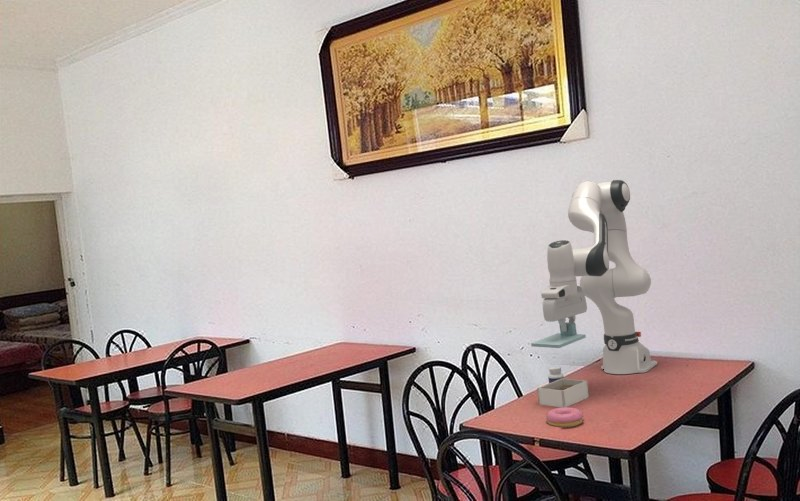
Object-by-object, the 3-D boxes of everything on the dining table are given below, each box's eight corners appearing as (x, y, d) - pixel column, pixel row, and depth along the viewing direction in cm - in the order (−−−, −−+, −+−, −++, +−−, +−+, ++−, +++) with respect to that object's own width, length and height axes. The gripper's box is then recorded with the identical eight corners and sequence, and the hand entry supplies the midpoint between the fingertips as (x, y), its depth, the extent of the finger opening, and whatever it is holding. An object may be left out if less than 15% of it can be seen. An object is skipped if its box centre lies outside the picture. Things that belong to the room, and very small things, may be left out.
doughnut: (561, 431, 205) (559, 417, 205) (539, 423, 215) (537, 410, 215) (591, 423, 209) (590, 410, 209) (568, 416, 219) (567, 403, 219)
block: (566, 396, 239) (565, 384, 239) (577, 397, 237) (576, 385, 237) (561, 399, 236) (559, 387, 236) (572, 400, 234) (571, 388, 234)
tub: (563, 395, 243) (562, 378, 243) (589, 398, 235) (587, 380, 235) (539, 406, 234) (537, 388, 233) (564, 409, 226) (562, 391, 226)
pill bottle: (565, 394, 244) (562, 369, 244) (550, 395, 245) (547, 370, 245) (565, 390, 249) (562, 365, 249) (549, 391, 250) (547, 366, 250)
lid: (558, 336, 243) (556, 321, 242) (585, 337, 235) (583, 322, 234) (531, 346, 233) (529, 331, 232) (559, 348, 225) (557, 332, 224)
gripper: (573, 285, 246) (577, 324, 247) (537, 294, 233) (542, 335, 233) (589, 284, 242) (593, 325, 242) (553, 294, 228) (558, 336, 228)
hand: (568, 330), depth 238 cm, fingers closed on lid, 2 cm apart
